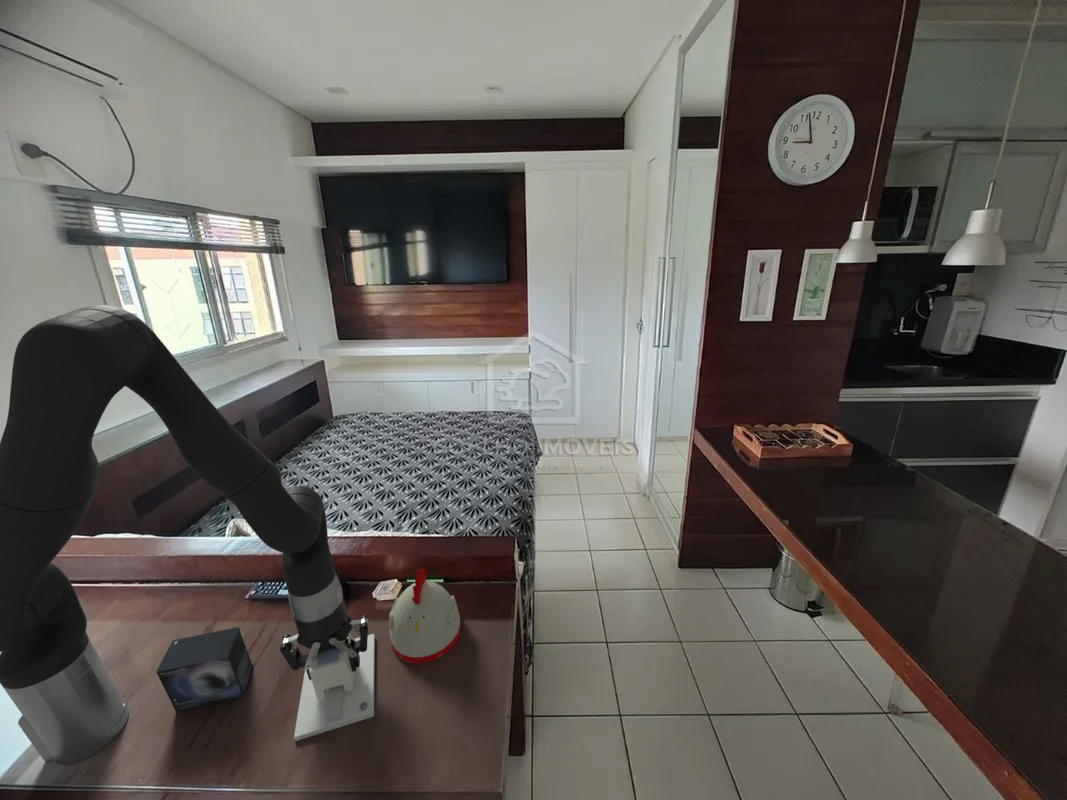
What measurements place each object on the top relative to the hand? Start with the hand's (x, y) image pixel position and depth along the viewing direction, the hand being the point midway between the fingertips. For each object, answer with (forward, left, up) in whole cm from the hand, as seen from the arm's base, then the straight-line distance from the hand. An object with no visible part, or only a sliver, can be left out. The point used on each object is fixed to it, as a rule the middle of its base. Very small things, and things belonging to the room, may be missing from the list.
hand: (336, 672), depth 78 cm
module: (0, 0, -1) cm, 1 cm away
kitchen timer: (+16, +6, -3) cm, 17 cm away
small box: (-21, +6, -3) cm, 22 cm away
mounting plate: (0, 0, -3) cm, 3 cm away
